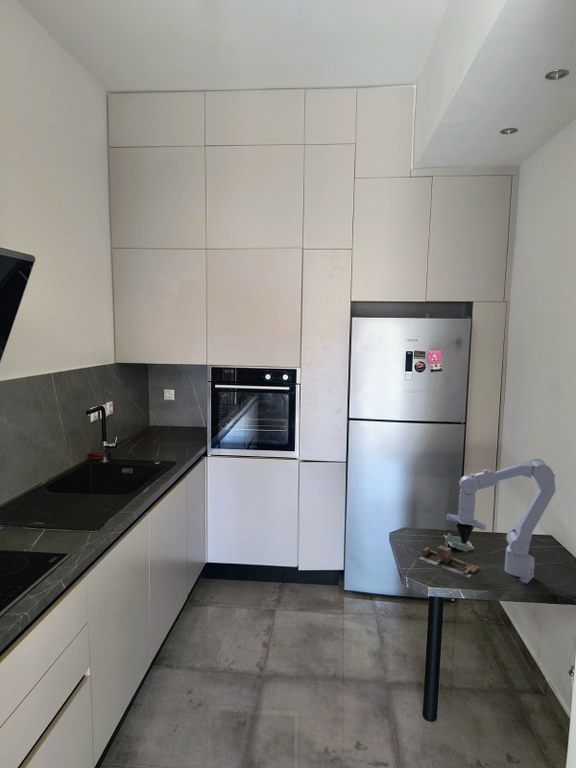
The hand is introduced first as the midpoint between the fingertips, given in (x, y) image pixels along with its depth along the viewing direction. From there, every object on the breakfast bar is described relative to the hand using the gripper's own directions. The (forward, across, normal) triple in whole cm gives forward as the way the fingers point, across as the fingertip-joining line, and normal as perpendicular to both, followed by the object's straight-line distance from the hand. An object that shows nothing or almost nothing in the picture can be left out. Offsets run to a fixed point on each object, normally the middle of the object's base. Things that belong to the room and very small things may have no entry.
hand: (464, 542), depth 183 cm
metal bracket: (+11, -8, +16) cm, 21 cm away
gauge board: (+10, -4, -4) cm, 11 cm away
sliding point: (+8, -7, -4) cm, 12 cm away
